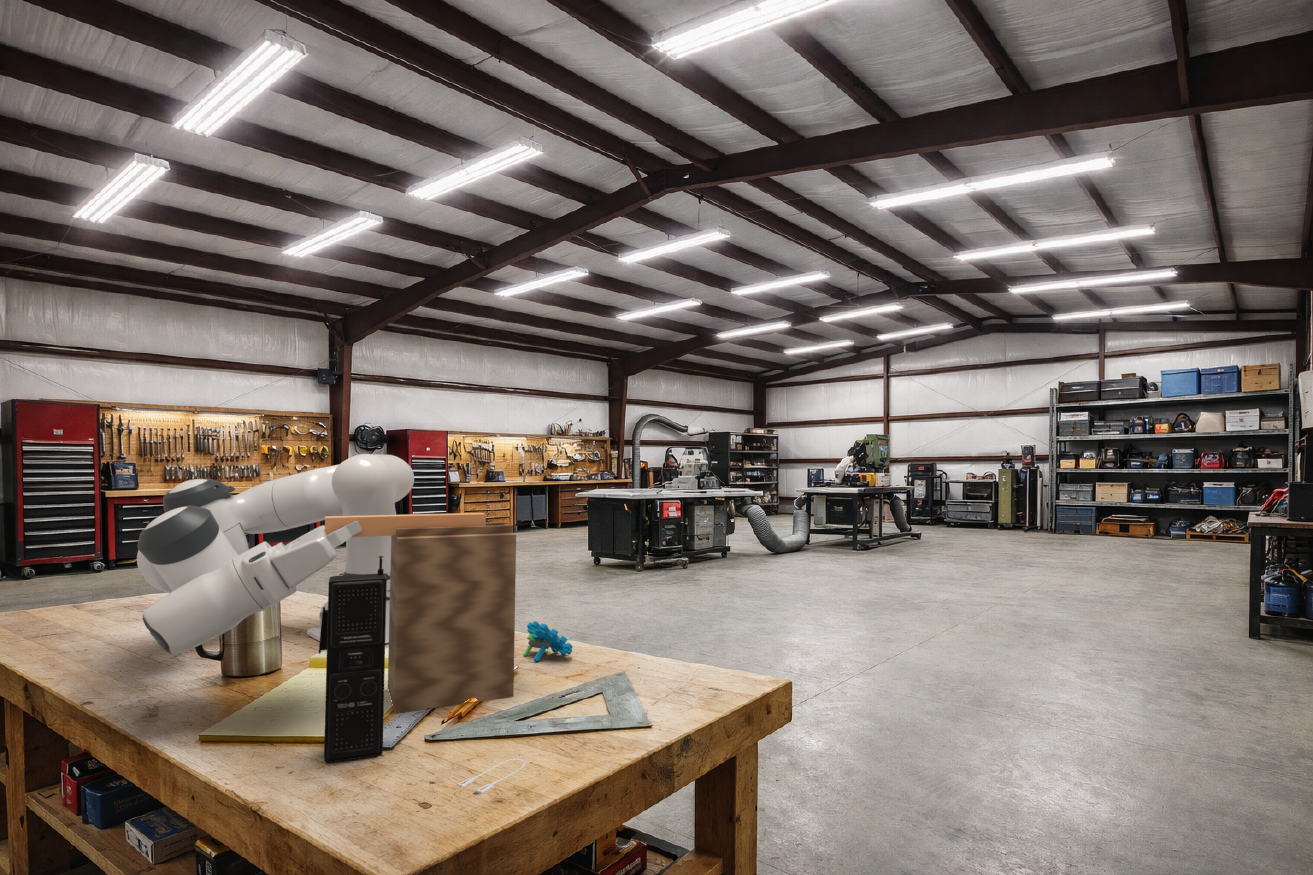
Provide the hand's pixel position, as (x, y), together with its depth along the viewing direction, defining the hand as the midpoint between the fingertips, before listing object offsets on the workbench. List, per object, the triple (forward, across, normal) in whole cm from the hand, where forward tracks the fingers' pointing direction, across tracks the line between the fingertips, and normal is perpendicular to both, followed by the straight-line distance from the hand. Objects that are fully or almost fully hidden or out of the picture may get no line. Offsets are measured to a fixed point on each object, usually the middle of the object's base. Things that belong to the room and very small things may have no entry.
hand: (359, 523), depth 107 cm
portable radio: (-15, +18, -24) cm, 34 cm away
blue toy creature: (+16, -13, -42) cm, 47 cm away
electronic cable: (-2, +32, -32) cm, 45 cm away
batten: (+5, 0, -5) cm, 7 cm away
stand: (-2, 0, -31) cm, 31 cm away
